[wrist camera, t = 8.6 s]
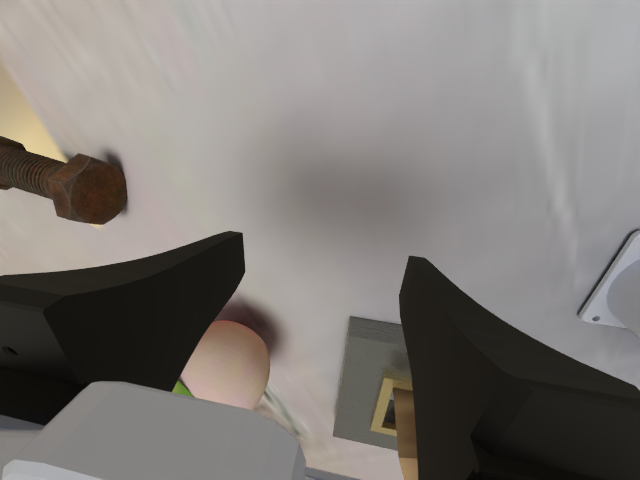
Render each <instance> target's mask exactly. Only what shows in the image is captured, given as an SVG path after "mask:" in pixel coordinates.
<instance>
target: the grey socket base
mask: <svg viewBox="0 0 640 480" xmlns="http://www.w3.org/2000/svg"><path fill="white" fill-rule="evenodd" d="M393 387H395V388H400V389H406V390H411V391H413V388H412V377H411V370H410V364H409V359H408V354H407V349H406V344H405V339H404V334H403V329H402V325H398V324H392V323H386V322H380V321H374V320H368V319H362V318H356V317H350V322H349V329H348V335H347V342H346V348H345V355H344V361H343V368H342V374H341V381H340V387H339V394H338V400H337V407H336V413H335V421H334V430H333V436H334V437H338V438H343V439H347V440H352V441H356V442H361V443H365V444H370V445H374V446H379V447H383V448H388V449H392V450H397V451H398V443H397V431H396V419H395V407H394V401H390V396H391V393H392V390H393Z"/></svg>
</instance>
